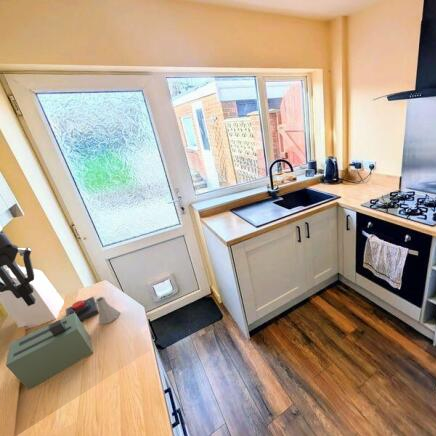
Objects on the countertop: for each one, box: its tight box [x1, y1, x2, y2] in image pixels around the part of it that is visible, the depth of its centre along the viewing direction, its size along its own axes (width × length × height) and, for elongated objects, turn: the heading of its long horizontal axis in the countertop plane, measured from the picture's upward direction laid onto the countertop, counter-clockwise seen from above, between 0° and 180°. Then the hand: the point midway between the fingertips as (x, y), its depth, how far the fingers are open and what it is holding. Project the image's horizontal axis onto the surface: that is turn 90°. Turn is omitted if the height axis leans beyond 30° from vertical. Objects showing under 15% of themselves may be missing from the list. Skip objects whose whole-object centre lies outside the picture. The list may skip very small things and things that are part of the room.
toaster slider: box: [48, 319, 66, 337], centre depth 81 cm, size 2×3×4 cm
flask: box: [95, 296, 121, 325], centre depth 100 cm, size 7×7×10 cm
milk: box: [0, 263, 65, 330], centre depth 102 cm, size 12×12×26 cm
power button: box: [71, 299, 85, 310], centre depth 104 cm, size 4×4×2 cm
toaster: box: [5, 313, 94, 391], centre depth 83 cm, size 11×17×12 cm, turn 133°
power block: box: [65, 296, 99, 323], centre depth 105 cm, size 12×10×4 cm
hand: (31, 302), depth 76 cm, fingers closed
